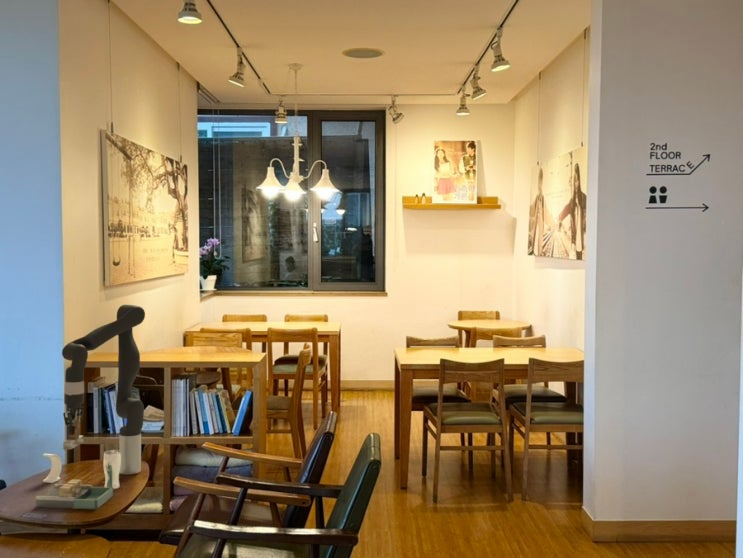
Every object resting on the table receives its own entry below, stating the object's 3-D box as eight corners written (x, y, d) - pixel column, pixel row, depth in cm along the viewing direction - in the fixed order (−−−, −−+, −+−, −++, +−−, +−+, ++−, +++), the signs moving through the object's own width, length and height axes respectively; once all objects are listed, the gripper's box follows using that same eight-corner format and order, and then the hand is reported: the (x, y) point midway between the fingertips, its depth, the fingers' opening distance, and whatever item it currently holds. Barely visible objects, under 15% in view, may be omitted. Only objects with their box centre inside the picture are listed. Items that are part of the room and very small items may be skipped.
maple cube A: (72, 489, 278) (72, 479, 278) (81, 489, 278) (81, 479, 277) (67, 492, 274) (67, 482, 274) (76, 493, 274) (76, 483, 273)
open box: (55, 493, 281) (55, 483, 281) (91, 495, 280) (91, 484, 280) (35, 507, 266) (35, 496, 266) (73, 508, 265) (73, 497, 265)
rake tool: (76, 442, 291) (76, 414, 291) (83, 442, 291) (83, 414, 291) (63, 449, 280) (63, 419, 280) (70, 449, 280) (70, 420, 280)
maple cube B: (64, 494, 272) (64, 484, 272) (74, 494, 272) (74, 484, 271) (59, 497, 268) (59, 487, 268) (69, 498, 268) (69, 488, 267)
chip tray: (91, 495, 280) (91, 486, 280) (113, 496, 279) (113, 487, 279) (73, 508, 265) (73, 499, 265) (96, 509, 265) (96, 500, 264)
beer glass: (120, 489, 288) (120, 453, 287) (102, 490, 285) (102, 454, 285) (121, 484, 294) (121, 449, 294) (103, 485, 292) (103, 450, 292)
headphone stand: (43, 481, 295) (43, 454, 295) (52, 477, 301) (52, 450, 300) (52, 483, 294) (52, 455, 294) (61, 478, 300) (61, 451, 299)
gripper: (73, 388, 292) (73, 429, 293) (56, 395, 278) (56, 437, 279) (91, 389, 292) (90, 429, 292) (74, 395, 278) (74, 438, 278)
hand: (73, 433), depth 286 cm, fingers closed on rake tool, 3 cm apart
